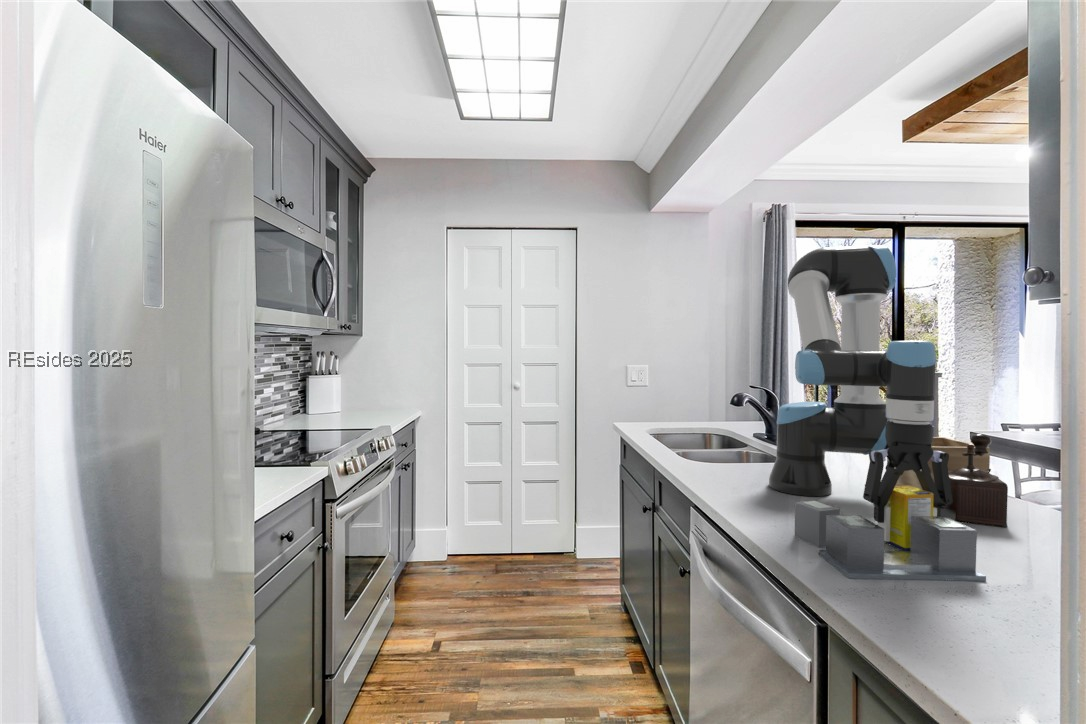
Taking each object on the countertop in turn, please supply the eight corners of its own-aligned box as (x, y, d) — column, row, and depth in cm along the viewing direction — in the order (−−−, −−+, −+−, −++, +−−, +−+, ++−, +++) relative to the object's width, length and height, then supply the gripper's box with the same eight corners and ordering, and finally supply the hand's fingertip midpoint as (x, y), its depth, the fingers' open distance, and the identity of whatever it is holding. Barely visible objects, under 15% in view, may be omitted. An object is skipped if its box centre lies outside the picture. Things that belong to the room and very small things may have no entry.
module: (794, 536, 104) (795, 501, 104) (814, 534, 106) (814, 499, 106) (818, 547, 99) (819, 510, 98) (839, 544, 100) (839, 507, 100)
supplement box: (907, 539, 103) (908, 484, 103) (933, 551, 97) (935, 493, 97) (879, 540, 102) (881, 485, 102) (904, 552, 96) (906, 494, 96)
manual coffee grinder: (1012, 529, 110) (1015, 444, 109) (947, 521, 114) (949, 439, 114) (987, 508, 124) (989, 433, 123) (930, 502, 128) (932, 429, 128)
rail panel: (818, 554, 95) (819, 511, 95) (941, 556, 95) (942, 512, 94) (848, 578, 85) (849, 530, 85) (986, 581, 85) (987, 532, 84)
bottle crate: (886, 487, 142) (887, 436, 141) (942, 488, 141) (944, 437, 141) (925, 504, 127) (926, 447, 126) (988, 505, 126) (990, 447, 126)
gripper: (865, 423, 96) (862, 545, 96) (980, 424, 95) (977, 547, 96) (843, 418, 103) (840, 531, 104) (950, 419, 103) (946, 533, 103)
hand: (906, 539), depth 100 cm, fingers open, 8 cm apart
